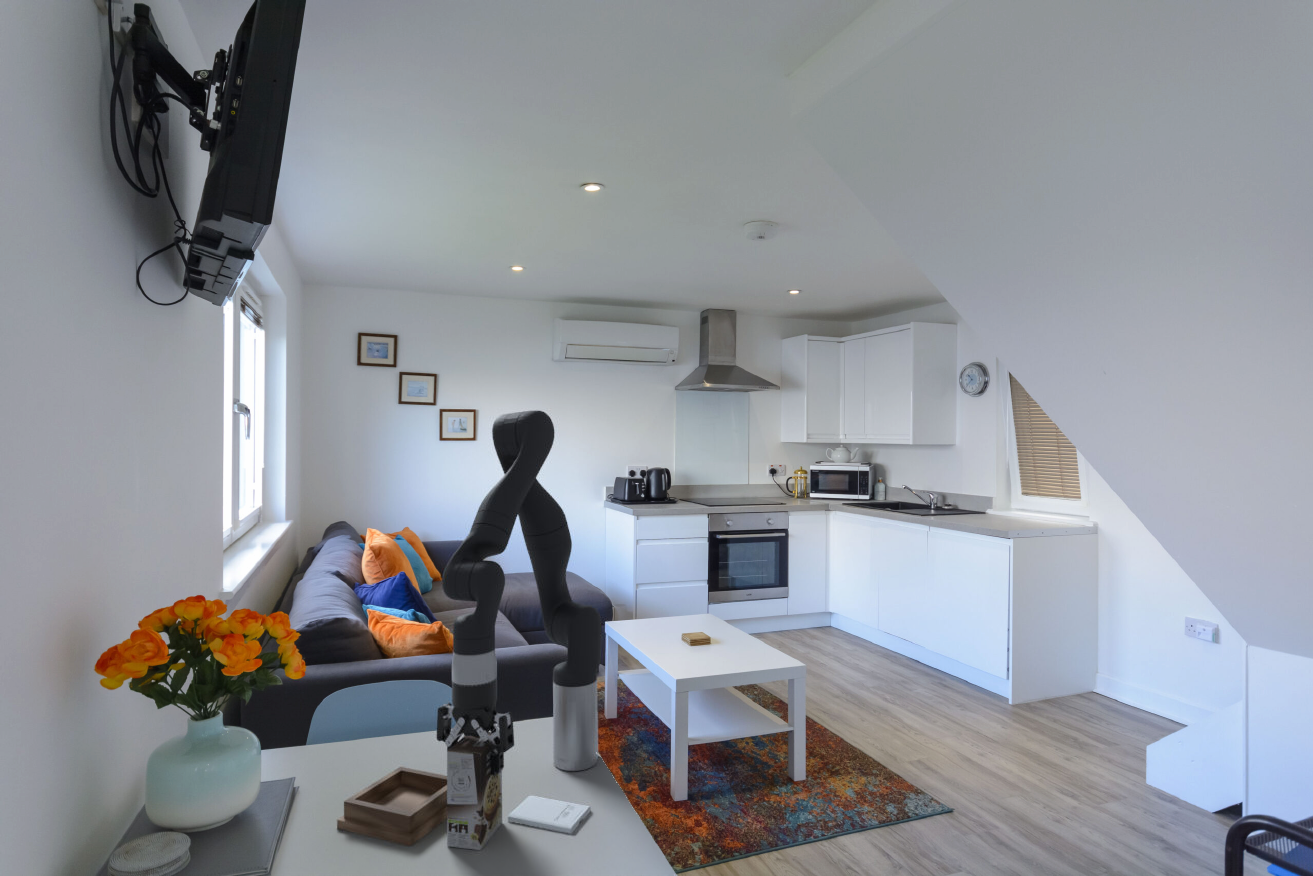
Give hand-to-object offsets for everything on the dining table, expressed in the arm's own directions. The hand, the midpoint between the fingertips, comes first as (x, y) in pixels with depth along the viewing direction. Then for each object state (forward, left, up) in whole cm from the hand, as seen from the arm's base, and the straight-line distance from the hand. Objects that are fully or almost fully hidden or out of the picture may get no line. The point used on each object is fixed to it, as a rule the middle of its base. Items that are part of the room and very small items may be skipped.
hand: (475, 770), depth 126 cm
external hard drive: (-10, +9, -12) cm, 18 cm away
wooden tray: (-1, -16, -11) cm, 19 cm away
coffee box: (0, 0, -11) cm, 11 cm away
